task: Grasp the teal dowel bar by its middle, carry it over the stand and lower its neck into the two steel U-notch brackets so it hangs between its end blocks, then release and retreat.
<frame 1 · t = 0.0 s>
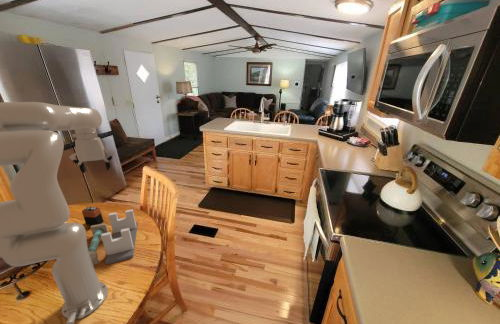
hand: (96, 170, 98), 31 cm above the table, tool pointing down, fingers open, 9 cm apart
battery: (95, 223, 109), on the table
dowel bar: (96, 248, 93), on the table
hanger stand: (123, 241, 97), on the table
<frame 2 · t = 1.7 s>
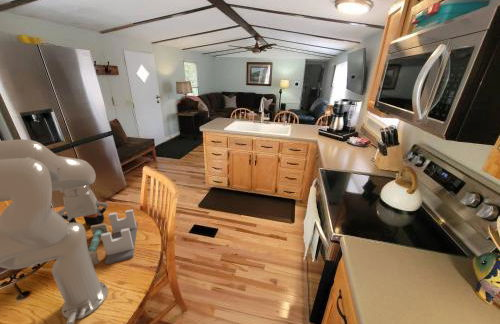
hand: (88, 224, 89), 13 cm above the table, tool pointing down, fingers open, 9 cm apart
nothing on the table moved.
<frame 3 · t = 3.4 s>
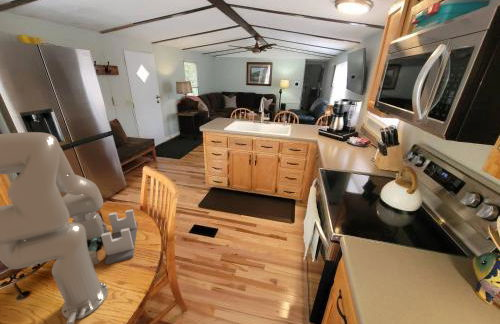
hand: (95, 247, 93), 0 cm above the table, tool pointing down, fingers closed on dowel bar, 3 cm apart
dowel bar: (96, 248, 93), on the table, touching gripper
everything else where it was.
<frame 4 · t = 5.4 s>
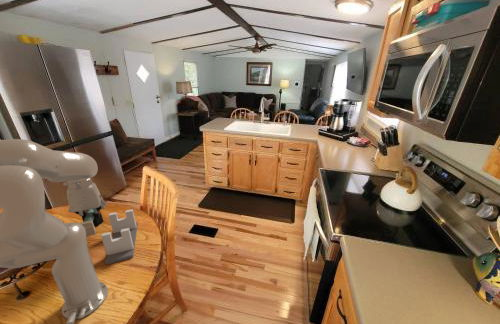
hand: (92, 220, 88), 15 cm above the table, tool pointing down, fingers closed on dowel bar, 3 cm apart
dowel bar: (92, 221, 88), point 15 cm above the table, touching gripper
everything else where it was.
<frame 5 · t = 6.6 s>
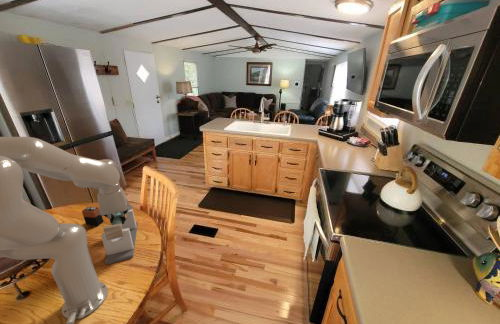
hand: (119, 222, 93), 11 cm above the table, tool pointing down, fingers closed on dowel bar, 3 cm apart
dowel bar: (119, 223, 93), point 11 cm above the table, touching gripper
everything else where it was.
when the fingers open (7 cm above the table, at t = 7.6 s): dowel bar stays where it is, resting on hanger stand.
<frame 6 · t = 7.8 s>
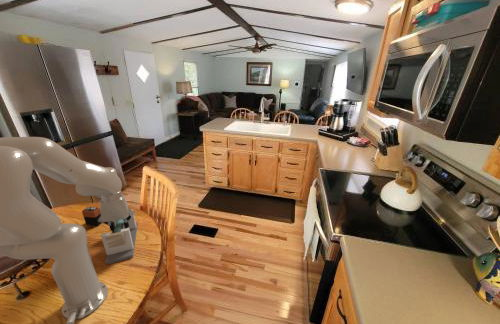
hand: (120, 229, 94), 8 cm above the table, tool pointing down, fingers open, 4 cm apart
dowel bar: (120, 231, 95), point 6 cm above the table, touching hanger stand
everything else where it was.
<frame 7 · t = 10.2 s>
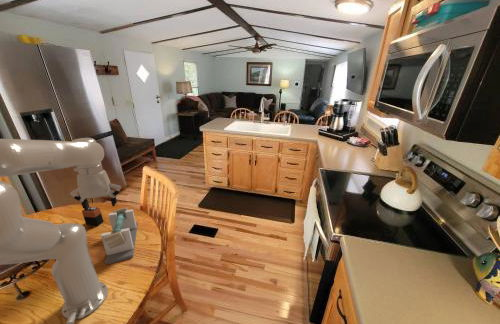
hand: (101, 206, 86), 22 cm above the table, tool pointing down, fingers open, 9 cm apart
dowel bar: (121, 230, 95), point 7 cm above the table, tilted 10°, touching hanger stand
everything else where it was.
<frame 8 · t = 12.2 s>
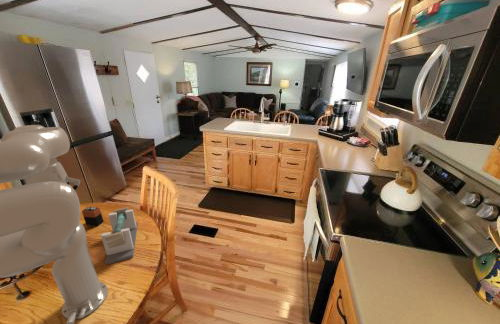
hand: (57, 203, 77), 28 cm above the table, tool pointing down, fingers open, 9 cm apart
dowel bar: (121, 231, 95), point 7 cm above the table, touching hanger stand
everything else where it was.
at the end: dowel bar 0.1 cm off-centre on the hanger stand, point 6.5 cm above the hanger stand's base; dowel bar tilted 3°; the gripper is holding nothing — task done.
